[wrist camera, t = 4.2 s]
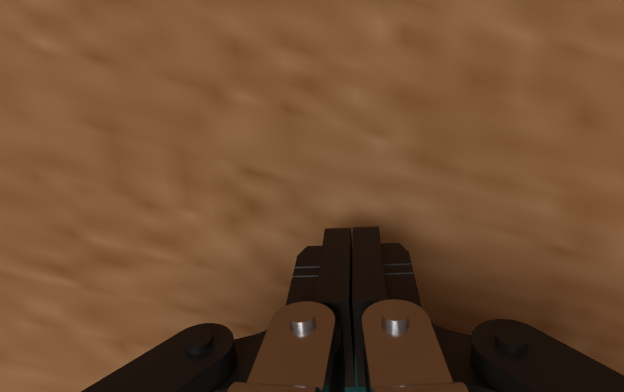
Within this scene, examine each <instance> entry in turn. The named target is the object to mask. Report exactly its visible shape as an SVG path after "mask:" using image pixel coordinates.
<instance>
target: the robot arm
mask: <svg viewBox="0 0 624 392" xmlns="http://www.w3.org/2000/svg"><path fill="white" fill-rule="evenodd" d="M355 351H356V366H357V381H358V387H366V392H624V376H623V375H621V374H620V373H618V372H616V371H614V370H612V369H610V368H608V367H606V366H605V365H603V364H601V363H599V362H597V361H595V360H593V359H591V358H590V357H588V356H586V355H584V354H582V353H580V352H578V351H577V350H575V349H573V348H571V347H569V346H567V345H565V344H563V343H562V342H560V341H558V340H556V339H554V338H552V337H550V336H548V335H547V334H545V333H543V332H541V331H539V330H537V329H535V328H533V327H531V326H529V325H527V324H524V323H521V322H518V321H514V320H507V319H495V320H489V321H486V322H483V323H481V324H479V325H478V326H477V327H476V328H475V329H474V330H473V333H472V336H471V335H466V334H461V333H457V332H453V331H449V330H446V329H443V328H441V327H439V326H437V325H436V324H434V323H432V322H431V321H430V319H429V316H428V314H427V313H426V312H425V310H424V309H422V308H421V304H420V299H419V295H418V291H417V286H416V282H415V277H414V274H413V269H412V265H411V260H410V256H409V252H408V251H407V250H406V249H405V248H404V247H403V246H402V245H400V244H399V243H382V244H381V243H380V235H379V227H378V226H376V227H353V253H352V237H351V228H329V229H325V232H324V239H323V246H307V247H306V248H305V249H304V250H303V251H302V252H301V253H300V254H299V255H298V256H297V260H296V264H295V269H294V273H293V278H292V281H291V286H290V290H289V294H288V298H287V303H286V306H285V307H283V308H281V309H280V310H278V311H277V312H276V313H275V314H274V316H273V317H272V319H271V321H270V324H269V326H268V329H267V330H266V331H264V332H261V333H259V334H255V335H252V336H248V337H243V338H239V339H235V340H234V338H233V334H232V332H231V331H230V330H229V329H228V328H227V327H225V326H223V325H220V324H215V323H205V324H199V325H195V326H192V327H189V328H187V329H185V330H183V331H181V332H179V333H178V334H176V335H174V336H173V337H171V338H169V339H168V340H166V341H164V342H163V343H161V344H159V345H158V346H156V347H154V348H153V349H151V350H149V351H148V352H146V353H144V354H143V355H141V356H139V357H138V358H136V359H134V360H133V361H131V362H130V363H128V364H126V365H125V366H123V367H121V368H120V369H118V370H116V371H115V372H113V373H111V374H110V375H108V376H106V377H105V378H103V379H101V380H100V381H98V382H96V383H95V384H93V385H91V386H90V387H88V388H86V389H85V390H83V391H81V392H345V387H355Z"/></svg>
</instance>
